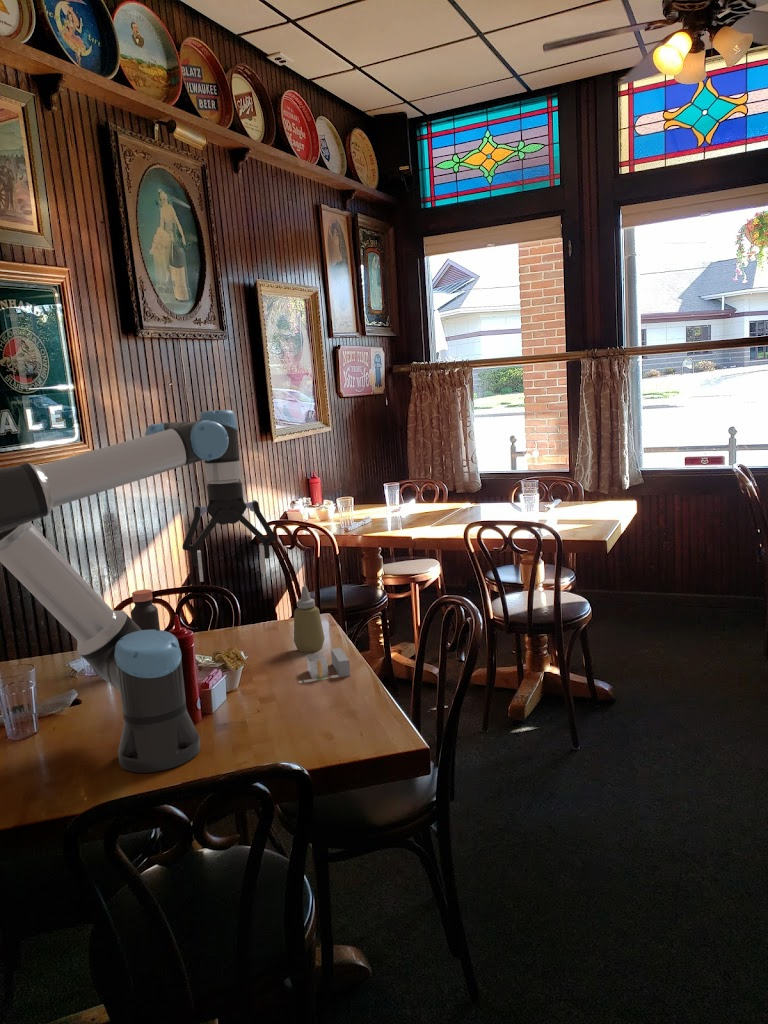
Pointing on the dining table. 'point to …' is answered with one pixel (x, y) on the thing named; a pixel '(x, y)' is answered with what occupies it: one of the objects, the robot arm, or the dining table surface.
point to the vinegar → (145, 611)
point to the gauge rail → (336, 665)
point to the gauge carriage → (317, 665)
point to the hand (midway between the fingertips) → (233, 577)
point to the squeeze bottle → (307, 624)
